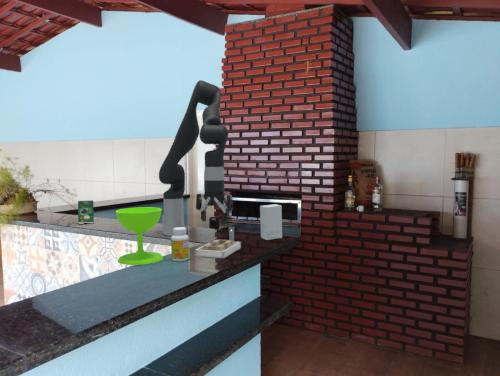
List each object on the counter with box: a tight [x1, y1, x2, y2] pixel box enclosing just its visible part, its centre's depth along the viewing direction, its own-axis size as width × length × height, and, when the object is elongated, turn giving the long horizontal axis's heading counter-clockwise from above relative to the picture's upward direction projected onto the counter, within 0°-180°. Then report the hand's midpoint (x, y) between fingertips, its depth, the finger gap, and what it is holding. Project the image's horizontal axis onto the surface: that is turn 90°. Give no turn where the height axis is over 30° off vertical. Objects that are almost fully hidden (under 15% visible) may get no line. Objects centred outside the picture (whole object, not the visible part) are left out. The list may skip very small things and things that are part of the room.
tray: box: [194, 239, 242, 259], centre depth 162 cm, size 12×18×2 cm, turn 161°
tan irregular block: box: [203, 239, 233, 251], centre depth 162 cm, size 13×8×3 cm, turn 161°
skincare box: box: [259, 203, 283, 241], centre depth 186 cm, size 8×6×15 cm
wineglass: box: [115, 206, 164, 266], centre depth 152 cm, size 16×16×18 cm
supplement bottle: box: [170, 226, 190, 262], centre depth 151 cm, size 6×6×11 cm
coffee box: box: [77, 200, 95, 223], centre depth 234 cm, size 8×3×13 cm, turn 119°
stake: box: [228, 226, 236, 242], centre depth 177 cm, size 2×2×7 cm
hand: (214, 221), depth 159 cm, fingers open, 8 cm apart
